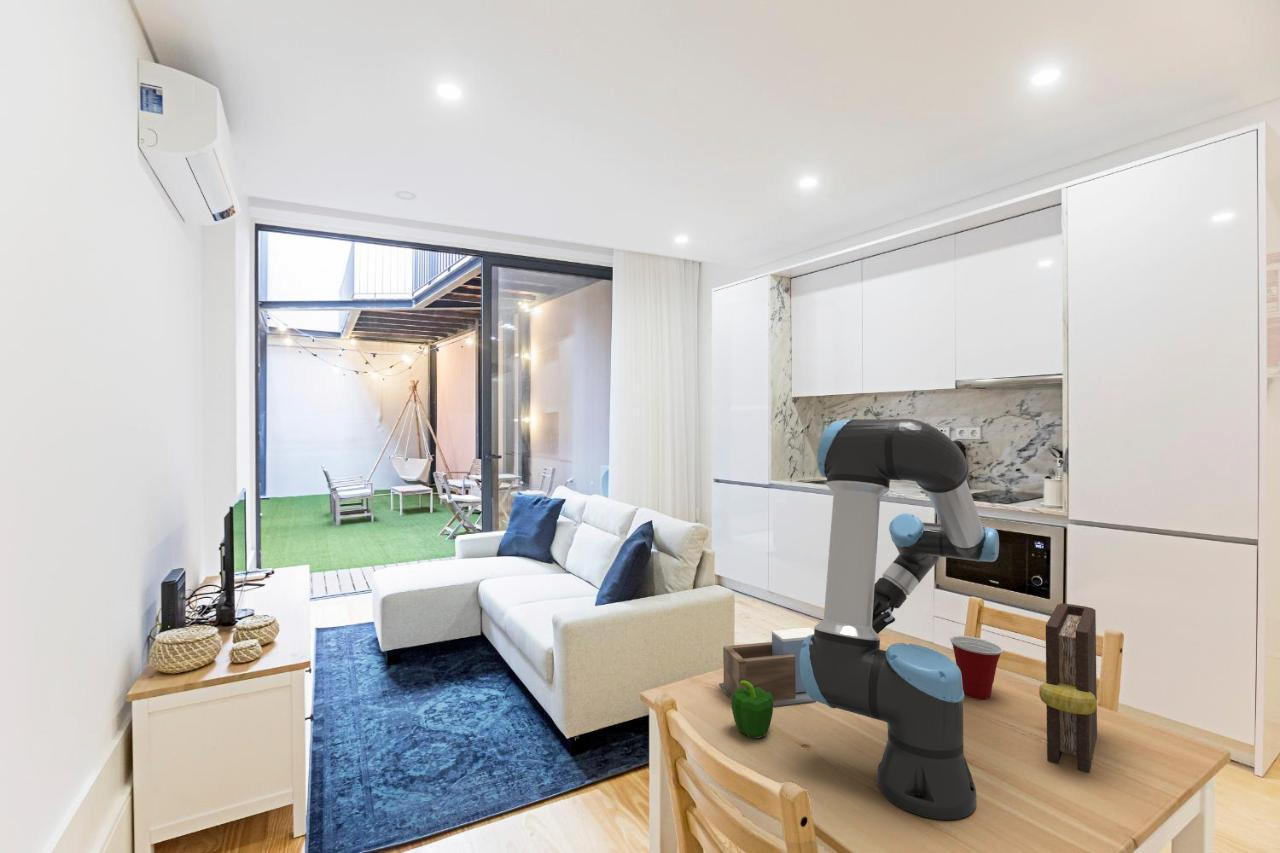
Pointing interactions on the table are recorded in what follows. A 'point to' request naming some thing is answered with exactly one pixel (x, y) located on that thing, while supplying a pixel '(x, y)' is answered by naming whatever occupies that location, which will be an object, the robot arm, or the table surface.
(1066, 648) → the book
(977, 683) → the plastic cup
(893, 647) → the robot arm
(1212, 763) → the table surface
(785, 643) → the white box
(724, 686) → the housing
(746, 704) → the bell pepper
